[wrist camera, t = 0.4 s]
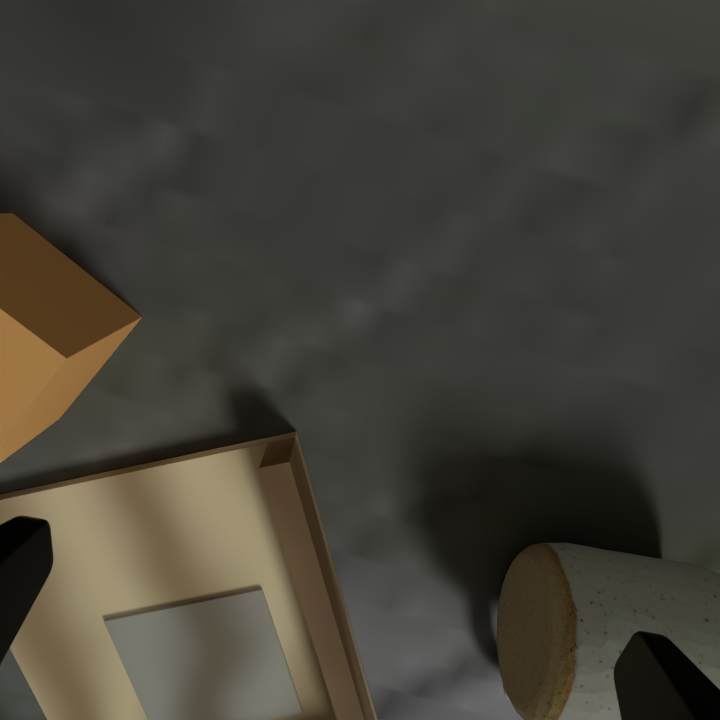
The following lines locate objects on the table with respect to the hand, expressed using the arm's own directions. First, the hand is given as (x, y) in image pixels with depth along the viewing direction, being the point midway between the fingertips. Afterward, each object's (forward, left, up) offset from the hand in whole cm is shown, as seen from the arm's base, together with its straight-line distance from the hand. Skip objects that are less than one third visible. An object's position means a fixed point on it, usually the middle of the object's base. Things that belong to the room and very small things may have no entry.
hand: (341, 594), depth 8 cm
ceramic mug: (+8, -15, -15) cm, 23 cm away
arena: (-11, -12, -14) cm, 22 cm away
